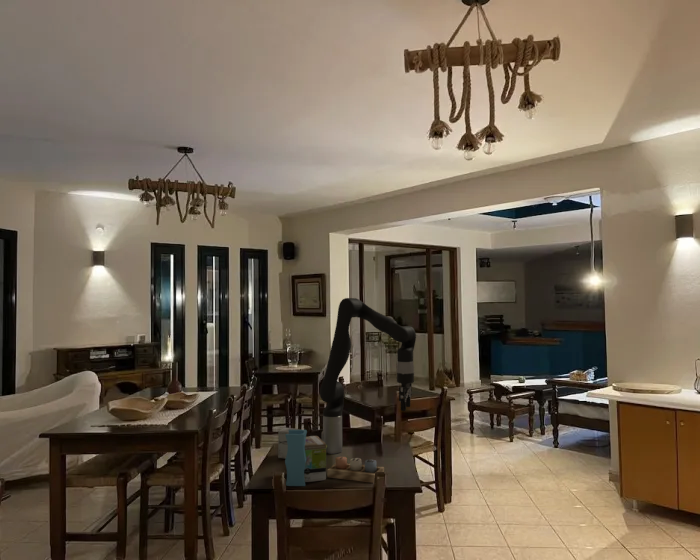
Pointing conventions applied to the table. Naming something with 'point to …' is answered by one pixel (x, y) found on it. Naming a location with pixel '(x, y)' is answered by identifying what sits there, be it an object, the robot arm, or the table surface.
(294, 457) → the vase
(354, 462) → the white rounded block
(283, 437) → the supplement box
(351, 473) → the button board
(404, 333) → the robot arm
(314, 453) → the tea box
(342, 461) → the pink rounded block
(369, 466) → the slate button
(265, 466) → the table surface
